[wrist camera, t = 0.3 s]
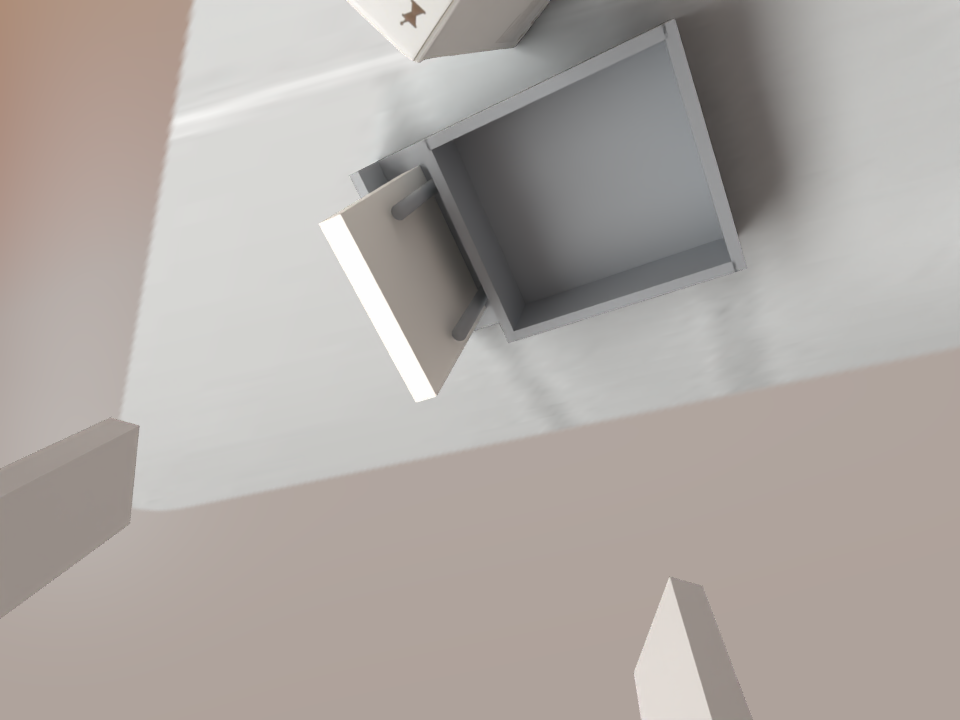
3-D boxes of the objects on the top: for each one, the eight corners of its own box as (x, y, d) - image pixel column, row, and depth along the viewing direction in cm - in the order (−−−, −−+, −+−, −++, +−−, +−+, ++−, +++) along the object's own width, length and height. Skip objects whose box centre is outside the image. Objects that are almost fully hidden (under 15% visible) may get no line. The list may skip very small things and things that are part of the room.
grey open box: (670, 19, 31) (684, 15, 20) (734, 238, 35) (772, 326, 25) (375, 162, 38) (275, 212, 27) (458, 330, 42) (398, 429, 31)
